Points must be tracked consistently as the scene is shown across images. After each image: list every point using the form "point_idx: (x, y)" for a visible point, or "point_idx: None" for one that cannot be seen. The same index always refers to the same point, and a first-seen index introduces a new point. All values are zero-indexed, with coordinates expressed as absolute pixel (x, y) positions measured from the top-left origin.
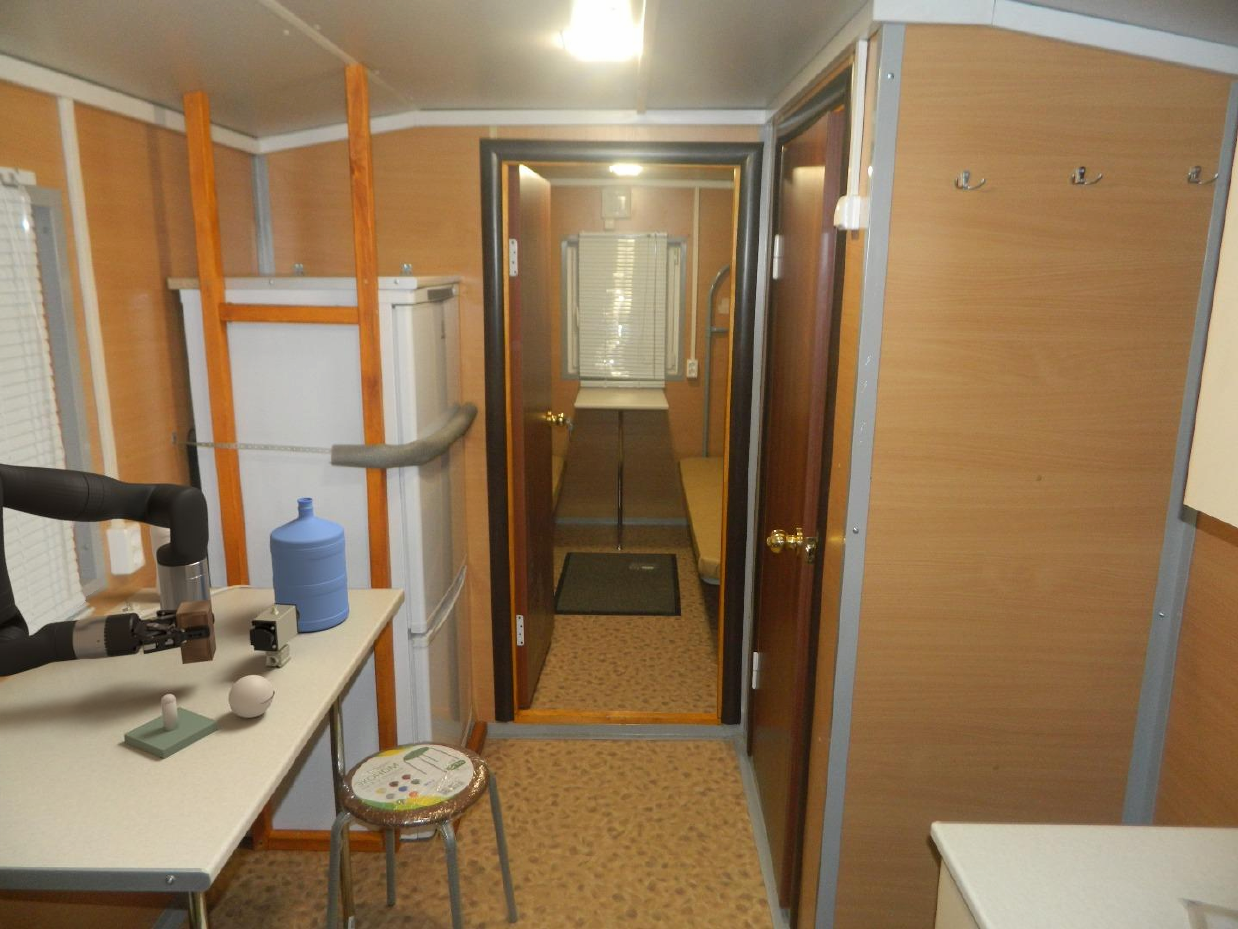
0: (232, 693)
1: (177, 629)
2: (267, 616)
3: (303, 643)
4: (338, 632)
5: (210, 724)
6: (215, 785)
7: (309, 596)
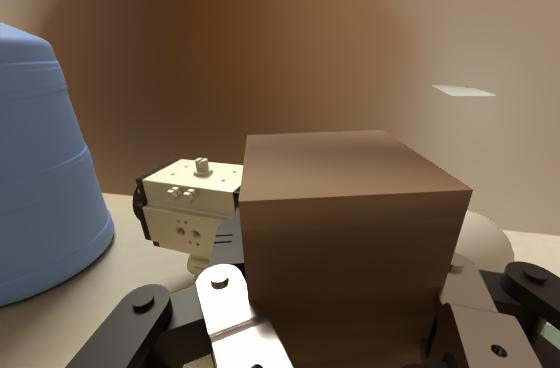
0: (508, 256)
1: (468, 282)
2: (224, 177)
3: (149, 257)
4: (139, 223)
5: None
6: None
7: (82, 181)
